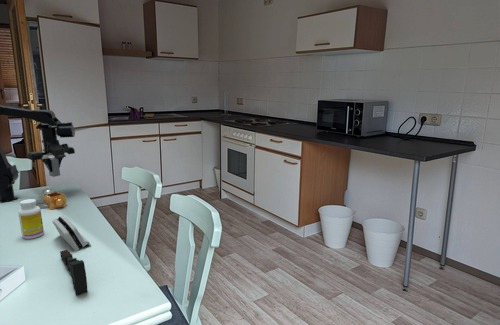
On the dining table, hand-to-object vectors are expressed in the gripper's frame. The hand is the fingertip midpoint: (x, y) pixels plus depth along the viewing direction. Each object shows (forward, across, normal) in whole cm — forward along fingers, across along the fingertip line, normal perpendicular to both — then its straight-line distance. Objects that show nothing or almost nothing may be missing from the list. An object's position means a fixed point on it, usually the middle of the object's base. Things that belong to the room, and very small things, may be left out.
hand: (54, 171), depth 165 cm
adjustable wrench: (+12, -31, -74) cm, 81 cm away
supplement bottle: (+12, -26, -38) cm, 48 cm away
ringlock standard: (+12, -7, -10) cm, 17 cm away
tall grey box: (+2, 0, 0) cm, 2 cm away
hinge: (+12, -21, -53) cm, 59 cm away
